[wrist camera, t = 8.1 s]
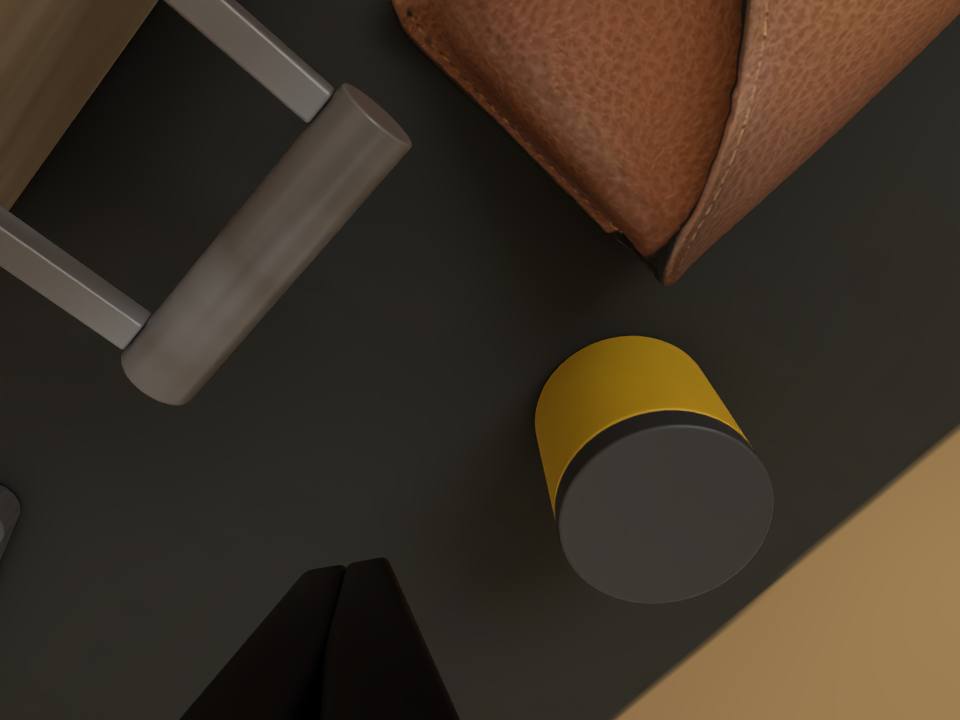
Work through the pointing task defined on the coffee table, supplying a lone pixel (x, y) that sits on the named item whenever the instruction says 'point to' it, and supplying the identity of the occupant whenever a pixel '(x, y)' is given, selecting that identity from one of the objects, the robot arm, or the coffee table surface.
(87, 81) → the drawer
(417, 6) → the sunglasses case
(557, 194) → the coffee table surface
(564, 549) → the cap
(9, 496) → the smartphone
